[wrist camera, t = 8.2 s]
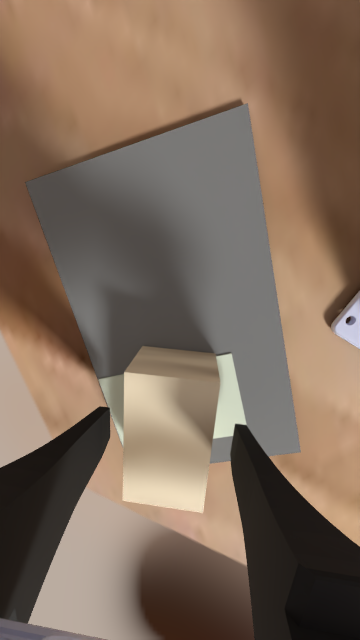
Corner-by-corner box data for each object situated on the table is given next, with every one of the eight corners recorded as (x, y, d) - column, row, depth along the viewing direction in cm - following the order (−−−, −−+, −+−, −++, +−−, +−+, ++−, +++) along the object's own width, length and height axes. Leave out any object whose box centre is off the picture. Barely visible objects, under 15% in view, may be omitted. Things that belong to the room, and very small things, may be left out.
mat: (30, 184, 12) (23, 181, 12) (246, 108, 11) (248, 101, 10) (133, 468, 17) (132, 474, 16) (298, 447, 15) (301, 453, 14)
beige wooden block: (142, 345, 14) (124, 372, 10) (215, 353, 13) (220, 382, 10) (139, 450, 16) (122, 500, 12) (202, 459, 15) (202, 512, 12)
